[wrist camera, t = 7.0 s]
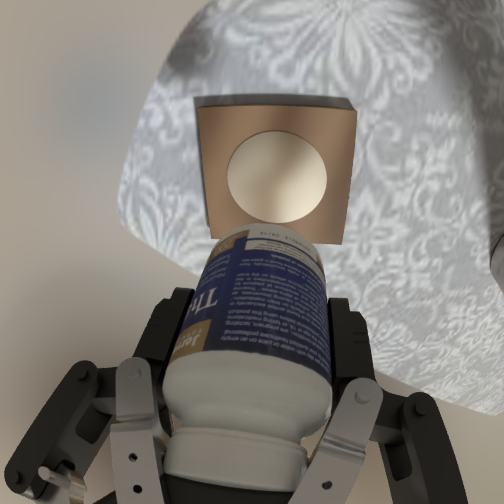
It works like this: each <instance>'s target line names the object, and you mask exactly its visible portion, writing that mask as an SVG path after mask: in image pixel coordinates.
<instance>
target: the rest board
mask: <svg viewBox="0 0 504 504" xmlns="http://www.w3.org/2000/svg"><path fill="white" fill-rule="evenodd" d="M198 120H199V132H200V143H201V153H202V163H203V173H204V182H205V191H206V200H207V209H208V217H209V225H210V233H211V239H221V238H222V237H223V236H224V235H226V234H227V233H229V232H231V231H232V230H234V229H236V228H238V227H241V226H244V225H249V224H254V223H261V224H274V225H280V226H283V227H286V228H289V229H291V230H293V231H295V232H297V233H299V234H300V235H302V236H303V237H305V238H306V239H307V240H309V241H310V242H311V243H317V244H336V245H342V239H343V233H344V227H345V220H346V214H347V207H348V199H349V192H350V184H351V176H352V167H353V158H354V147H355V136H356V123H357V111H356V110H355V109H346V108H335V107H323V106H308V105H284V104H243V105H218V106H203V107H199V108H198Z"/></svg>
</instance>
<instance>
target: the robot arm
mask: <svg viewBox="0 0 504 504" xmlns="http://www.w3.org/2000/svg"><path fill="white" fill-rule="evenodd" d="M491 273H492V275H493V277H494V279H495V280H496V282H497V284H498V285H499V287H500V289H501V290H502V292H503V294H504V236H503V237H502V238H501V240H500V241H499V243H498V245H497V247H496V249H495V250H494V253H493V256H492V260H491ZM194 293H195V290H194V289H190V288H179V287H176V288H175V290H174V291H173V294H172V296H171V298H170V299H165V298H164V299H163V300H162V301H161V302H160V303H159V304H157V305H156V306H155V308H154V310H153V312H152V315H151V318H150V319H149V321H148V323H147V326H146V328H145V330H144V332H143V334H142V337H141V339H140V341H139V343H138V345H137V348H136V350H135V352H134V354H133V356H132V357H131V358H128V359H126V360H124V361H123V362H121V364H120V365H119V366H118V367H112V368H97V367H96V366H95V365H94V363H92V362H91V361H86V360H83V361H79V362H77V363H76V364H74V365H73V366H72V367H71V369H70V370H69V371H68V373H67V374H66V375H65V377H64V378H63V380H62V381H61V382H60V384H59V385H58V387H57V388H56V389H55V391H54V392H53V394H52V395H51V397H50V398H49V399H48V401H47V402H46V404H45V405H44V407H43V408H42V410H41V411H40V413H39V414H38V416H37V417H36V419H35V420H34V422H33V423H32V425H31V426H30V428H29V429H28V431H27V432H26V434H25V436H24V437H23V439H22V440H21V442H20V444H19V445H18V447H17V449H16V450H15V452H14V453H13V455H12V457H11V459H10V460H9V462H8V464H7V466H6V468H5V471H4V477H5V481H6V484H7V486H8V487H9V488H10V490H12V491H13V492H14V493H17V494H20V495H22V496H25V497H27V498H28V499H31V500H33V501H34V502H35V503H36V504H84V502H83V498H84V494H86V492H87V486H86V484H85V481H84V479H83V477H84V475H85V474H86V472H87V470H88V468H89V467H90V465H91V463H92V462H93V460H94V458H95V456H96V455H97V453H98V451H99V450H100V448H101V446H102V445H103V443H104V441H105V440H106V438H107V436H108V435H109V433H110V439H111V453H112V464H113V473H114V482H115V491H113V492H111V493H110V494H108V495H107V496H105V497H103V498H102V499H100V500H98V501H96V502H95V503H93V504H345V502H346V500H347V498H348V496H349V494H350V492H351V490H352V487H353V485H354V483H355V481H356V479H357V477H358V474H359V472H360V470H361V468H362V465H363V463H364V460H365V455H366V453H365V448H366V445H367V443H368V440H371V441H375V442H378V444H379V448H380V451H381V455H382V459H383V463H384V467H385V471H386V475H387V479H388V483H389V487H390V492H391V496H392V500H393V504H468V501H467V497H466V492H465V489H464V485H463V481H462V478H461V474H460V471H459V467H458V464H457V461H456V457H455V454H454V451H453V449H452V446H451V442H450V439H449V436H448V434H447V431H446V428H445V426H444V423H443V420H442V417H441V415H440V412H439V409H438V407H437V405H436V402H435V400H434V399H433V398H432V397H431V396H430V395H429V394H427V393H424V392H416V393H413V394H411V395H410V396H409V397H403V396H400V395H395V394H392V393H389V392H387V391H385V390H384V389H382V388H381V387H380V386H379V384H378V383H377V381H376V379H375V375H374V368H373V361H372V354H371V348H370V344H369V336H368V330H367V324H366V321H365V319H364V318H363V316H362V315H361V313H360V312H357V311H350V308H349V302H348V299H347V298H329V299H328V304H327V306H328V320H329V334H330V350H331V369H332V392H333V394H332V408H331V416H330V418H329V420H328V422H327V425H326V426H325V429H324V431H323V433H322V435H321V437H320V439H319V441H318V443H317V445H316V447H315V449H314V450H313V452H312V454H311V456H310V458H309V464H308V466H307V469H306V472H305V473H304V475H303V477H302V479H301V481H300V482H299V484H298V486H297V488H296V489H295V491H294V492H279V491H261V490H251V489H242V488H234V487H227V486H220V485H214V484H209V483H203V482H198V481H194V480H189V479H185V478H181V477H177V476H173V475H169V474H167V473H165V472H164V470H163V464H164V459H165V455H166V451H167V447H168V442H169V439H170V438H171V436H172V432H173V431H174V425H173V419H172V413H171V411H170V410H169V408H168V407H167V405H166V403H165V400H164V397H163V389H162V387H163V381H164V377H165V374H166V369H167V367H168V364H169V361H170V359H171V356H172V353H173V350H174V347H175V344H176V342H177V339H178V336H179V333H180V330H181V328H182V325H183V322H184V320H185V317H186V314H187V311H188V308H189V306H190V304H191V301H192V298H193V296H194Z"/></svg>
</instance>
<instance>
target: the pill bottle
mask: <svg viewBox="0 0 504 504" xmlns="http://www.w3.org/2000/svg"><path fill="white" fill-rule="evenodd" d="M162 389H163V397H164V400H165V403H166V405H167V407H168V408H169V410H170V411H171V413H172V414H173V415H174V416H175V417H176V418H177V419H178V420H180V421H181V422H182V428H179V429H176V430H175V431H173V432H172V436H171V438H170V439H169V442H168V447H167V451H166V455H165V459H164V464H163V470H164V472H165V473H167V474H169V475H173V476H177V477H181V478H185V479H189V480H194V481H198V482H203V483H209V484H214V485H220V486H227V487H234V488H242V489H251V490H261V491H279V492H294V491H295V489H296V488H297V486H298V484H299V482H300V481H301V479H302V477H303V475H304V473H305V472H306V469H307V466H308V464H309V459H308V458H307V450H306V449H305V448H303V447H302V446H300V441H301V440H302V439H304V438H307V437H308V436H310V435H312V434H314V433H315V432H316V431H318V430H319V429H320V428H321V427H322V426H323V425H324V424H325V422H326V421H327V419H328V418H329V415H330V412H331V408H332V394H333V392H332V369H331V350H330V334H329V320H328V306H327V296H326V280H325V274H324V268H323V263H322V260H321V257H320V255H319V253H318V251H317V250H316V248H315V247H314V246H313V245H312V244H311V242H310V241H309V240H307V239H306V238H305V237H303V236H302V235H300V234H299V233H297V232H295V231H293V230H291V229H289V228H286V227H283V226H280V225H274V224H261V223H254V224H249V225H244V226H241V227H238V228H236V229H234V230H232V231H231V232H229V233H227V234H226V235H224V236H223V237H222V238H221V239H220V240H219V241H218V242H217V243H216V245H215V246H214V248H213V250H212V252H211V254H210V256H209V258H208V260H207V263H206V266H205V268H204V270H203V273H202V275H201V278H200V280H199V283H198V286H197V288H196V291H195V293H194V296H193V298H192V301H191V304H190V306H189V308H188V311H187V314H186V317H185V320H184V322H183V325H182V328H181V330H180V333H179V336H178V339H177V342H176V344H175V347H174V350H173V353H172V356H171V359H170V361H169V364H168V367H167V369H166V374H165V377H164V381H163V387H162Z"/></svg>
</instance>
